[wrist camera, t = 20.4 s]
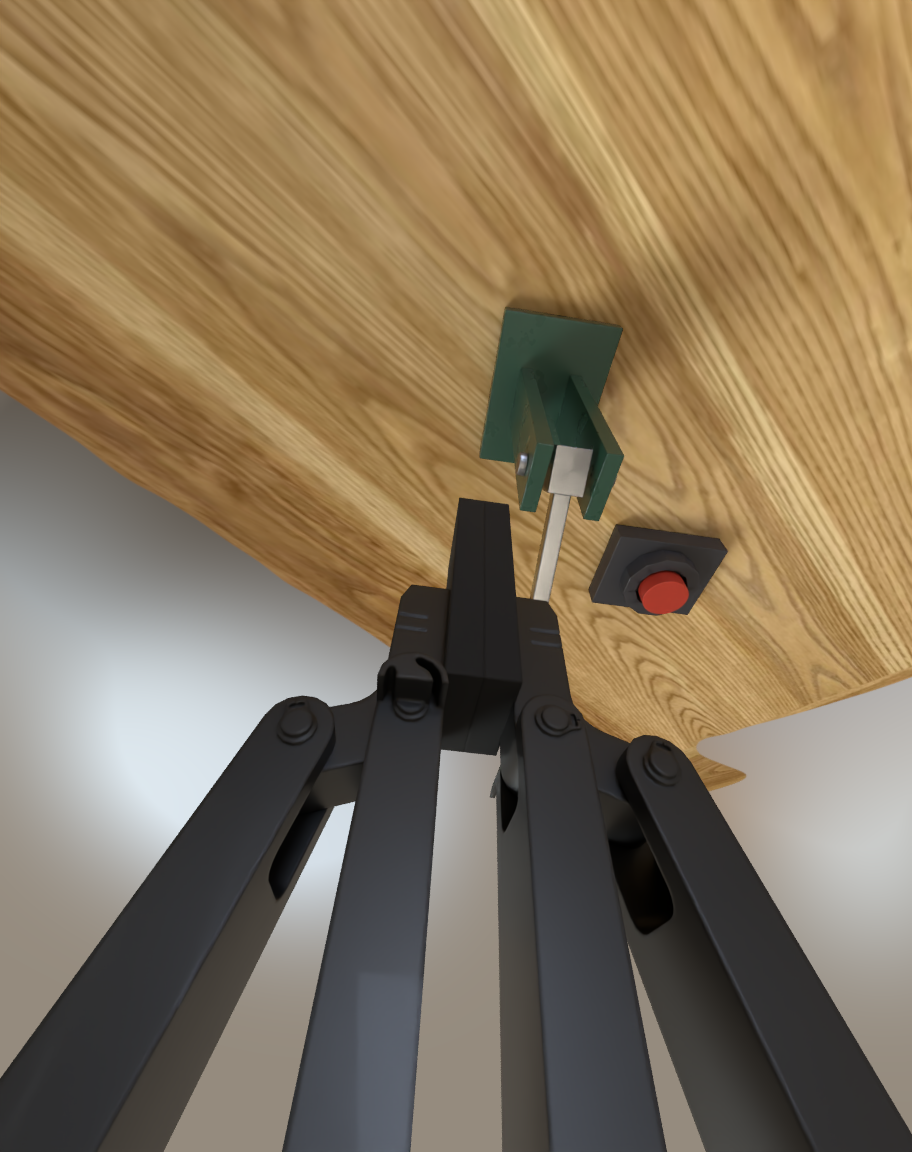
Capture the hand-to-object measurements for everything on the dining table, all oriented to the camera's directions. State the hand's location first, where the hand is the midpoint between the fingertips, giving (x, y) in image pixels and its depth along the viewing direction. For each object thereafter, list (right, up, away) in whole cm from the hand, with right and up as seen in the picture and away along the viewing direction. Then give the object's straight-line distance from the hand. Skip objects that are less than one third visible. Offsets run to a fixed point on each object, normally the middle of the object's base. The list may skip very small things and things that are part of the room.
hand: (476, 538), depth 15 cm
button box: (+21, 0, +36) cm, 41 cm away
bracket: (+7, +14, +25) cm, 29 cm away
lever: (+5, -1, +18) cm, 18 cm away
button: (+20, -2, +33) cm, 39 cm away
